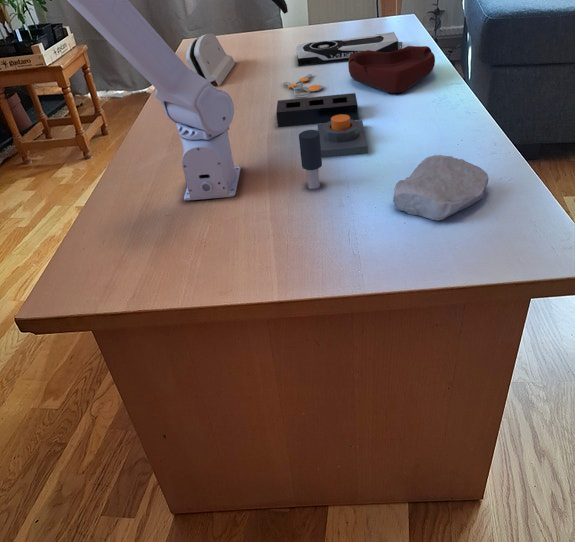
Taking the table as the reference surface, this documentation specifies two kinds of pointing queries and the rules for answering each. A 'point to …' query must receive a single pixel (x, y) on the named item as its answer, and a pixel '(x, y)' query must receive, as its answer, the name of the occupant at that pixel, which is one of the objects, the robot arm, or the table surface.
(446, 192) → the stone block
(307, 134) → the grey and white cylinder
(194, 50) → the hinge
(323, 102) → the holder
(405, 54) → the ashtray
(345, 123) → the power button
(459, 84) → the table surface
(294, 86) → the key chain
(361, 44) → the graphics card
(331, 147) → the station
